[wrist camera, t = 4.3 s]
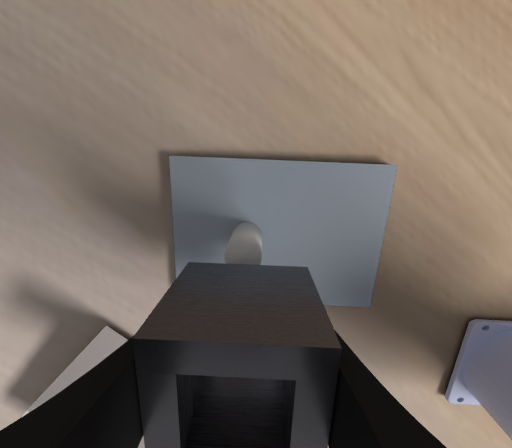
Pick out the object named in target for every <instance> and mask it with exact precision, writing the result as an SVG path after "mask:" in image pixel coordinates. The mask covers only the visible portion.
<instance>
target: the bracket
mask: <svg viewBox="0 0 512 448" xmlns="http://www.w3.org/2000/svg"><path fill="white" fill-rule="evenodd" d="M126 341H128V340H127V339H126V338H124V337H123V336H121V335H120V334H118V333H117V332H115V331H114V330H112V329H111V328H109V327H108V326H105V327H104V328H103V329H102V331H101V332H100V333H99V334H98V335H97V336H96V337H95V338H94V339H93V340H92V341H91V342H90V343H89V344H88V345H87V347H86V348H85V349H84V350H83V351H82V352H81V353H80V354H79V355H78V356H77V357H76V358H75V359H74V360H73V361H72V363H71V364H70V365H69V366H68V367H67V368H66V369H65V370H64V371H63V372H62V373H61V374H60V375H59V376H58V377H57V379H56V380H55V381H54V382H53V383H52V384H51V385H50V386H49V387H48V388H47V389H46V390H45V391H44V392H43V393H42V394H41V396H40V397H39V398H38V399H37V400H36V401H35V402H34V403H33V404H32V405H31V406H30V407H29V408H28V409H27V411H26V412H25V413H24V414H23V416H25V415H26V414H28V413H29V412H31V411H32V410H34V409H35V408H37V407H38V406H40V405H41V404H43V403H44V402H46V401H47V400H49V399H50V398H52V397H53V396H55V395H56V394H58V393H59V392H60V391H62V390H63V389H65V388H66V387H67V386H69V385H70V384H71V383H73V382H74V381H76V380H77V379H78V378H80V377H81V376H82V375H84V374H85V373H86V372H88V371H89V370H91V369H92V368H93V367H95V366H96V365H97V364H99V363H100V362H101V361H102V360H104V359H105V358H106V357H108V356H109V355H110V354H111V353H113V352H114V351H115V350H116V349H118V348H119V347H120V346H122V345H123V344H124V343H125V342H126ZM23 416H22V417H23ZM138 448H145V445H144V436H143V437H142V439H141V442H140V444H139V446H138Z"/></svg>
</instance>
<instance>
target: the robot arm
mask: <svg viewBox="0 0 512 448" xmlns="http://www.w3.org/2000/svg"><path fill="white" fill-rule="evenodd" d="M483 326H484V327H483ZM334 331H335V330H334ZM335 333H336V336H337V338H338V340H339V343H340V345H341V348H342V351H341V358H340V364H339V371H338V378H337V385H336V392H335V399H334V406H333V413H332V420H331V427H330V434H329V440H328V446H329V448H446V447H445V446H444V445H443V444H442V443H441V442H440V441H439V440H438V439H437V438H436V437H434V436H433V435H432V434H431V433H430V432H429V431H428V430H427V429H426V428H425V427H423V426H422V425H421V424H420V423H419V422H418V421H417V420H416V419H415V418H414V417H413V416H412V415H411V414H410V413H409V412H408V411H407V410H406V409H405V408H404V407H403V406H402V405H401V404H400V403H399V402H398V401H397V400H396V399H395V398H394V397H393V396H392V395H391V394H390V393H389V392H388V391H387V390H386V388H385V387H384V386H383V385H382V384H381V383H380V382H379V381H378V380H377V379H376V377H375V376H374V375H373V374H372V373H371V372H370V371H369V370H368V369H367V367H366V366H365V365H364V364H363V363H362V362H361V361H360V359H359V358H358V357H357V356H356V355H355V354H354V352H353V351H352V350H351V349H350V348H349V346H348V345H347V344H346V343H345V342H344V340H343V339H342V338H341V337H340V336H339V335H338V333H337V332H336V331H335ZM133 337H134V336H133ZM133 337H131V338H130V339H129V340H128V341H126V342H125V343H124V344H123V345H122V346H120V347H119V348H118V349H116V350H115V351H114V352H113V353H111V354H110V355H109V356H108V357H106V358H105V359H104V360H102V361H101V362H100V363H99V364H97V365H96V366H95V367H93V368H92V369H91V370H89V371H88V372H86V373H85V374H84V375H82V376H81V377H80V378H78V379H77V380H76V381H74V382H73V383H71V384H70V385H69V386H67V387H66V388H65V389H63V390H62V391H60V392H59V393H58V394H56V395H55V396H53V397H52V398H50V399H49V400H47V401H46V402H44V403H43V404H41V405H40V406H38V407H37V408H35V409H34V410H32V411H31V412H29V413H28V414H26V415H25V416H23V417H21V418H20V419H18V420H17V421H15V422H14V423H12V424H10V425H9V426H7V427H6V428H4V429H2V430H1V431H0V448H138V446H139V444H140V442H141V439H142V437H143V428H142V419H141V410H140V402H139V393H138V384H137V375H136V367H135V358H134V349H133V341H132V338H133ZM445 398H446V399H447V401H448V402H449V403H452V404H467V405H482V406H483V408H484V409H485V410H486V411H487V412H488V413H489V415H490V416H491V417H492V418H493V419H494V420H495V421H496V423H497V424H498V425H499V426H500V427H501V428H502V429H503V431H504V432H505V433H506V434H507V435H508V436H509V437H510V439H511V440H512V321H501V320H482V319H475V320H472V321H470V322H469V324H468V327H467V330H466V333H465V336H464V339H463V342H462V345H461V348H460V351H459V355H458V358H457V361H456V364H455V367H454V370H453V373H452V376H451V379H450V382H449V385H448V388H447V391H446V394H445Z"/></svg>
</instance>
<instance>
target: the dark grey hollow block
mask: <svg viewBox="0 0 512 448" xmlns="http://www.w3.org/2000/svg"><path fill="white" fill-rule="evenodd" d="M132 341H133V349H134V358H135V367H136V375H137V384H138V393H139V402H140V410H141V419H142V428H143V436H144V445H145V448H327V447H328V440H329V434H330V427H331V420H332V413H333V406H334V399H335V392H336V385H337V378H338V371H339V364H340V358H341V351H342V348H341V345H340V343H339V340H338V338H337V336H336V333H335V331H334V329H333V326H332V324H331V321H330V319H329V317H328V314H327V312H326V310H325V307H324V305H323V302H322V300H321V298H320V295H319V293H318V291H317V288H316V286H315V283H314V281H313V279H312V276H311V274H310V271H309V269H308V267H298V266H273V265H249V264H225V263H200V262H188V264H187V265H186V266H185V268H184V269H183V270H182V272H181V273H180V274H179V276H178V277H177V278H176V280H175V281H174V283H173V284H172V285H171V287H170V288H169V289H168V291H167V292H166V293H165V295H164V296H163V297H162V299H161V300H160V301H159V303H158V304H157V306H156V307H155V308H154V310H153V311H152V312H151V314H150V315H149V316H148V318H147V319H146V320H145V322H144V323H143V325H142V326H141V327H140V329H139V330H138V331H137V333H136V334H135V335H134V337H133V338H132Z"/></svg>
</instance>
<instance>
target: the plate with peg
mask: <svg viewBox="0 0 512 448" xmlns="http://www.w3.org/2000/svg"><path fill="white" fill-rule="evenodd" d="M169 164H170V181H171V199H172V217H173V234H174V252H175V270H176V278H177V277H178V276H179V274H180V273H181V272H182V270H183V269H184V268H185V266H186V265H187V264H188V262H200V263H225V264H249V265H273V266H298V267H308V269H309V271H310V274H311V276H312V279H313V281H314V283H315V286H316V288H317V291H318V293H319V295H320V298H321V300H322V302H323V305H327V306H346V307H365V308H370V305H371V300H372V294H373V289H374V284H375V279H376V274H377V269H378V264H379V258H380V253H381V248H382V243H383V238H384V233H385V228H386V222H387V217H388V212H389V207H390V202H391V197H392V192H393V186H394V181H395V176H396V171H397V166H398V165H388V164H364V163H340V162H316V161H292V160H267V159H243V158H219V157H195V156H169Z"/></svg>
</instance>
